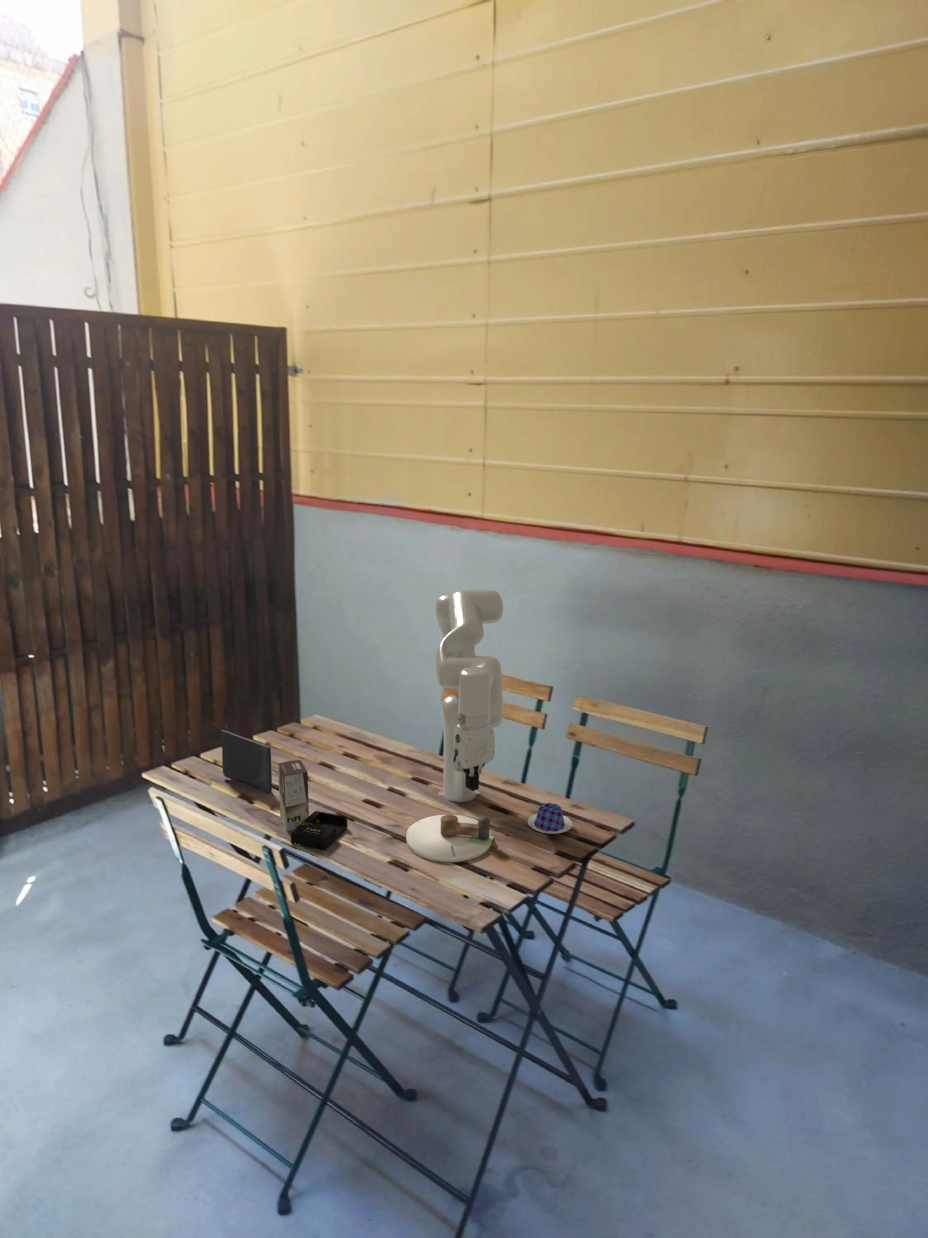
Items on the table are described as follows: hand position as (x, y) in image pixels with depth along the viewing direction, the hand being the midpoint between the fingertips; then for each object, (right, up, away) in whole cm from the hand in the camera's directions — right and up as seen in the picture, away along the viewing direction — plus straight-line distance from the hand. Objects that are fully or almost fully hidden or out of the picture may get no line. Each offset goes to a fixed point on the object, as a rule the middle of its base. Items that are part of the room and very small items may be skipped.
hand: (472, 788), depth 203 cm
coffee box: (-47, -13, +19) cm, 52 cm away
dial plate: (-6, -16, +11) cm, 20 cm away
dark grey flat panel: (-65, -8, +41) cm, 77 cm away
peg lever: (-2, -14, +10) cm, 17 cm away
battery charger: (-39, -16, +12) cm, 44 cm away
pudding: (+21, -14, +21) cm, 33 cm away
